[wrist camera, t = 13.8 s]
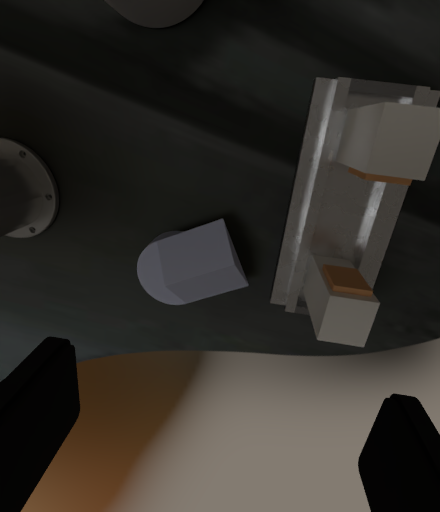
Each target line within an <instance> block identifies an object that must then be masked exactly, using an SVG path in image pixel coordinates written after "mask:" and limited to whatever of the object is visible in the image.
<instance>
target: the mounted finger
mask: <svg viewBox="0 0 440 512" xmlns="http://www.w3.org/2000/svg"><path fill="white" fill-rule="evenodd" d="M303 292H304V296H305V299H306V303H307V306H308V310H309V313H310V317H311V320H312V324H313V327H314V331H315V334H316V337H317V340H321V341H328V342H334V343H340V344H346V345H353V346H359V347H364V346H365V343H366V340H367V337H368V335H369V332H370V329H371V327H372V324H373V321H374V318H375V316H376V313H377V310H378V307H379V305H380V302H379V301H378V300H377V298H376V297H375V295H374V294H373V290H372V289H371V288H370V286H369V285H368V283H367V282H366V281H365V279H364V278H363V276H362V275H361V274H360V272H359V271H358V269H355V267H354V266H353V264H352V263H351V262H350V260H345V259H338V258H331V257H324V256H318V255H312V256H311V260H310V264H309V268H308V272H307V276H306V281H305V285H304V289H303Z"/></svg>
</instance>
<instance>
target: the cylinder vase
mask: <svg viewBox="0 0 440 512" xmlns="http://www.w3.org/2000/svg"><path fill="white" fill-rule="evenodd" d="M104 1H105V2H107V3H108V4H109V5H110V6H111V7H112V8H114V9H115V10H116V11H117V12H118V13H120V14H121V15H122V16H123V17H125V18H126V19H128V20H130V21H131V22H133V23H135V24H138V25H141V26H144V27H149V28H164V27H169V26H172V25H175V24H177V23H179V22H181V21H183V20H185V19H186V18H188V17H189V16H190V15H191V14H192V13H193V12H195V11H196V9H197V8H198V7H199V6H200V5H201V3H202V2H203V1H204V0H104Z"/></svg>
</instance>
